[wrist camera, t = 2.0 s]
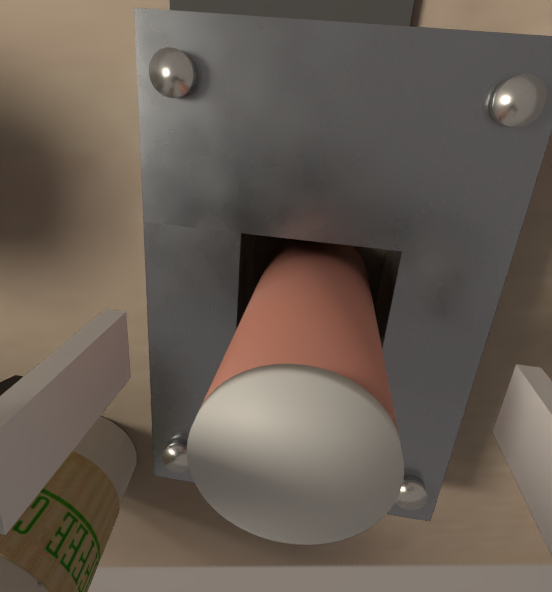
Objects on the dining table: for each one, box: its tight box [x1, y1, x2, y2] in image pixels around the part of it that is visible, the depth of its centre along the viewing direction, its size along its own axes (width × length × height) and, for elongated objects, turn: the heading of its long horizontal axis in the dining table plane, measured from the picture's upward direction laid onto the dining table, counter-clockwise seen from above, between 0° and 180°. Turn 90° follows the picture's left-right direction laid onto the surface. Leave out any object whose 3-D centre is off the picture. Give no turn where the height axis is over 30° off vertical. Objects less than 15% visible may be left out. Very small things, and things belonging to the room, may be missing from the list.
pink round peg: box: [187, 239, 404, 545], centre depth 17 cm, size 5×5×13 cm
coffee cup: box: [0, 416, 137, 592], centre depth 22 cm, size 10×10×15 cm
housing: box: [134, 8, 552, 521], centre depth 21 cm, size 15×22×5 cm
